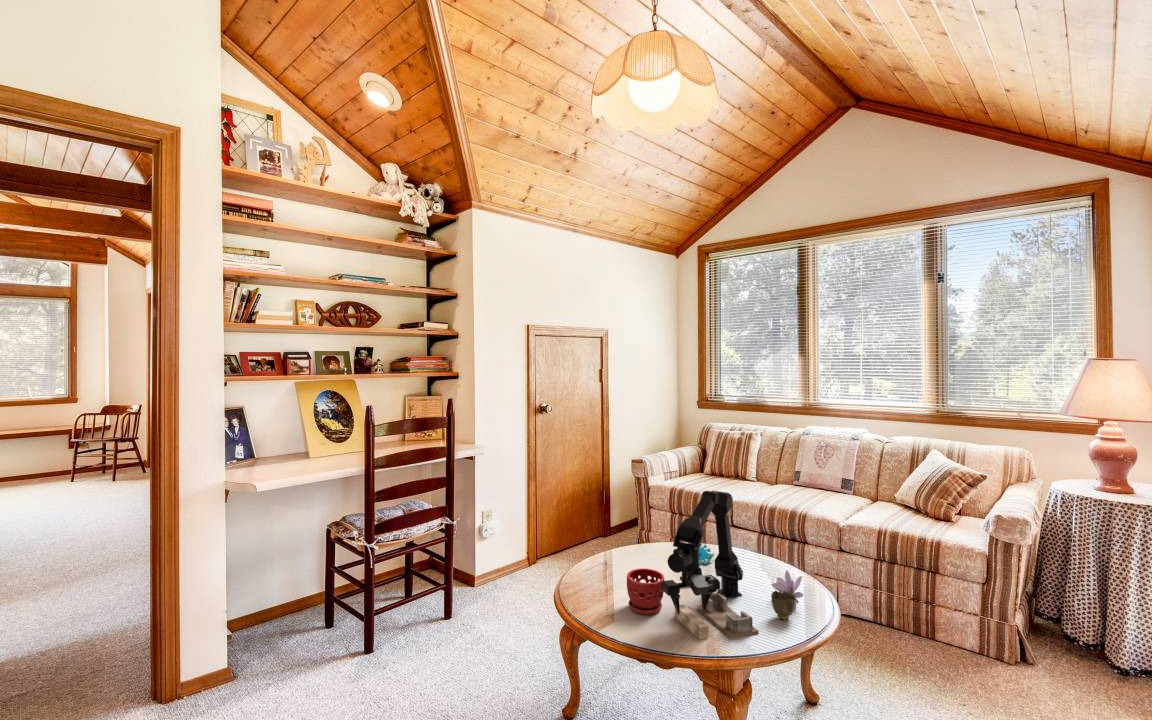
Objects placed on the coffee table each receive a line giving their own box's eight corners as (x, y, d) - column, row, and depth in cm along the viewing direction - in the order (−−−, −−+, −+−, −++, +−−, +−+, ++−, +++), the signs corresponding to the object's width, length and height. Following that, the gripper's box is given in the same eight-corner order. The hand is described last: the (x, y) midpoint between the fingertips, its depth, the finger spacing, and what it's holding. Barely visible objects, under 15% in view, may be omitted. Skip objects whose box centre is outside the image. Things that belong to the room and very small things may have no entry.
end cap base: (697, 609, 188) (697, 595, 188) (722, 605, 190) (722, 591, 190) (730, 638, 167) (730, 622, 167) (758, 633, 170) (758, 617, 170)
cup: (776, 611, 185) (775, 588, 186) (798, 617, 181) (797, 593, 181) (768, 619, 180) (767, 595, 180) (790, 626, 175) (790, 601, 175)
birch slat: (675, 617, 182) (675, 605, 183) (683, 616, 183) (682, 604, 183) (699, 639, 167) (699, 626, 167) (708, 638, 168) (708, 625, 168)
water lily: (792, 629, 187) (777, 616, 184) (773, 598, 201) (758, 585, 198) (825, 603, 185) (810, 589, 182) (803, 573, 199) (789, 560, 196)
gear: (688, 561, 230) (689, 540, 237) (686, 567, 234) (687, 546, 241) (714, 566, 228) (714, 544, 235) (712, 572, 233) (712, 550, 240)
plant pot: (619, 610, 187) (619, 576, 188) (640, 598, 197) (640, 565, 198) (651, 621, 179) (651, 585, 179) (671, 608, 189) (671, 573, 189)
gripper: (675, 575, 165) (676, 626, 165) (729, 568, 171) (730, 618, 170) (660, 563, 176) (660, 611, 176) (711, 557, 181) (711, 603, 181)
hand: (691, 611), depth 175 cm, fingers open, 9 cm apart
